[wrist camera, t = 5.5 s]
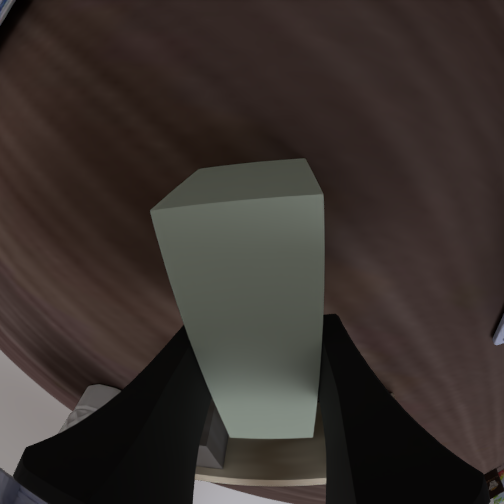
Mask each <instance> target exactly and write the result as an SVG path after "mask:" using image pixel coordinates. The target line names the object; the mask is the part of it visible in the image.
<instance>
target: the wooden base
mask: <svg viewBox="0 0 504 504" xmlns="http://www.w3.org/2000/svg"><path fill="white" fill-rule="evenodd" d="M391 395H392V396H393V397H394V393H391ZM394 399H395V397H394ZM195 480H201V481H207V482H215V483H224V484H235V485H251V486H305V485H320V484H326V445H325V436H324V428H323V421H322V415H321V408H320V403H317V408H316V417H315V425H314V433H313V437H312V438H291V439H251V438H230V436H229V434H228V432H227V430H226V427H225V425H224V423H223V421H222V419H221V416H220V414H219V412H218V410H217V407H216V405H215V403H214V400H213V398H211V402H210V406H209V410H208V413H207V417H206V421H205V424H204V428H203V432H202V436H201V440H200V444H199V449H198V457H197V464H196V471H195Z"/></svg>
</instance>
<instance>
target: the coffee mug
mask: <svg viewBox="0 0 504 504" xmlns="http://www.w3.org/2000/svg"><path fill="white" fill-rule="evenodd" d="M484 477H485V480H486V483H487V486H488V491H489V496H490V499H491V498H493V497H495V496H497V495H499V494H500V493H502V492H504V487H503V484H502V482H501V479H500V477H499V474H498V472H497V469H494V470H492V471H490V472H488V473H487V474H485V475H484Z"/></svg>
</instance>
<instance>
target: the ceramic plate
mask: <svg viewBox="0 0 504 504" xmlns="http://www.w3.org/2000/svg"><path fill="white" fill-rule="evenodd" d="M14 2H15V0H0V25H1V24H2V22H3V20H4V19H5V17H6V16H7V14H8V12H9V11H10V9H11V7H12V5H13V4H14Z"/></svg>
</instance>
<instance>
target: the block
mask: <svg viewBox="0 0 504 504" xmlns="http://www.w3.org/2000/svg"><path fill="white" fill-rule="evenodd" d="M150 213H151V217H152V221H153V225H154V229H155V232H156V236H157V240H158V243H159V247H160V250H161V254H162V257H163V261H164V264H165V267H166V271H167V274H168V277H169V281H170V284H171V287H172V290H173V293H174V296H175V299H176V302H177V305H178V308H179V311H180V314H181V317H182V320H183V323H184V326H185V329H186V331H187V334H188V337H189V340H190V342H191V345H192V348H193V351H194V353H195V356H196V358H197V361H198V364H199V366H200V369H201V371H202V374H203V376H204V379H205V381H206V384H207V386H208V388H209V391H210V393H211V396H212V398H213V400H214V403H215V405H216V407H217V410H218V412H219V414H220V416H221V419H222V421H223V423H224V425H225V427H226V430H227V432H228V434H229V436H230V438H251V439H291V438H312V437H313V433H314V425H315V417H316V408H317V398H318V388H319V376H320V363H321V349H322V331H323V309H324V264H325V241H324V195H323V192H322V190H321V188H320V186H319V184H318V182H317V180H316V178H315V176H314V174H313V172H312V170H311V168H310V166H309V164H308V163H307V161H306V159H305V158H302V159H287V160H274V161H262V162H252V163H242V164H233V165H225V166H217V167H209V168H202V169H198V170H197V171H196V172H194V173H193V174H192V175H191V176H189V177H188V178H187V179H186V180H185V181H183V182H182V183H181V184H180V185H179V186H177V187H176V188H175V189H174V190H173V191H172V192H170V193H169V194H168V195H167V196H166V197H165V198H164V199H162V200H161V201H160V202H159V203H158V204H157V205H156V206H154V207H153V208H152V209H151V210H150Z"/></svg>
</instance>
